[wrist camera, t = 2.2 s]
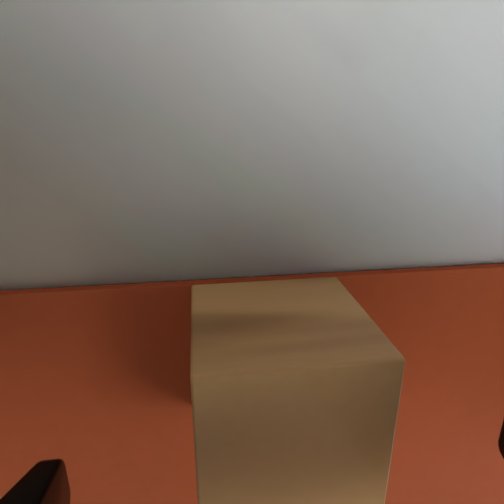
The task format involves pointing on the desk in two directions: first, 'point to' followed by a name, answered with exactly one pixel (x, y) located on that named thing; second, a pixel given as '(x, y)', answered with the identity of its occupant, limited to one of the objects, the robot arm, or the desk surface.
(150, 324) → the placemat
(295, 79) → the desk surface
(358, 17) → the desk surface
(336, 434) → the beech block
